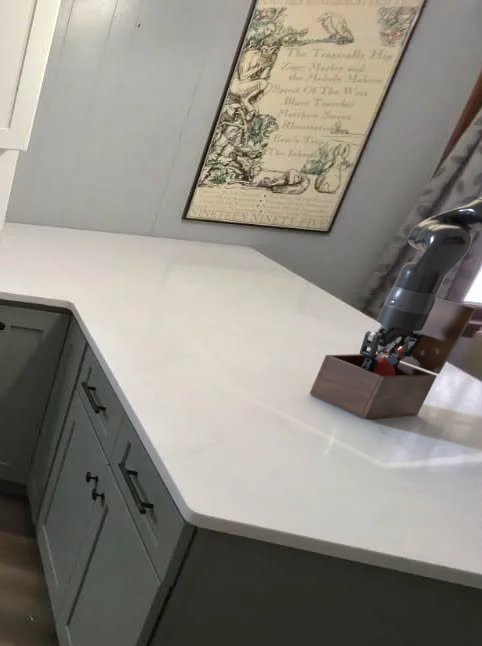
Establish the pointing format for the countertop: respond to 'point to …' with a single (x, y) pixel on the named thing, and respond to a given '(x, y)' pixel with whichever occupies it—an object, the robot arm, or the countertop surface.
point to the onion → (384, 367)
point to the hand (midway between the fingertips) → (377, 371)
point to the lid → (439, 335)
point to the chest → (371, 387)
